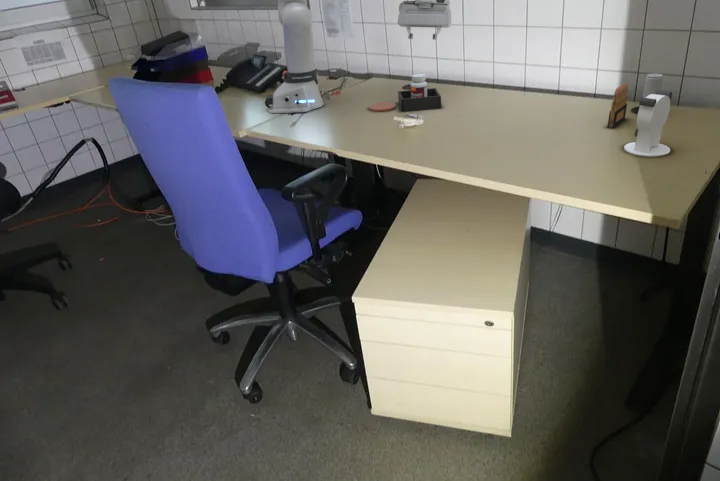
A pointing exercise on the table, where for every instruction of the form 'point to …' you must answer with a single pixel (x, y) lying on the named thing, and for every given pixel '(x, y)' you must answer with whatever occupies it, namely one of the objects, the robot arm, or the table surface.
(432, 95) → the black box
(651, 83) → the beverage can
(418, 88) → the pill bottle
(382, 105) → the coaster
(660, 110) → the white disc-based upright fixture
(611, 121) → the brown panel in holder
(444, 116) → the table surface
